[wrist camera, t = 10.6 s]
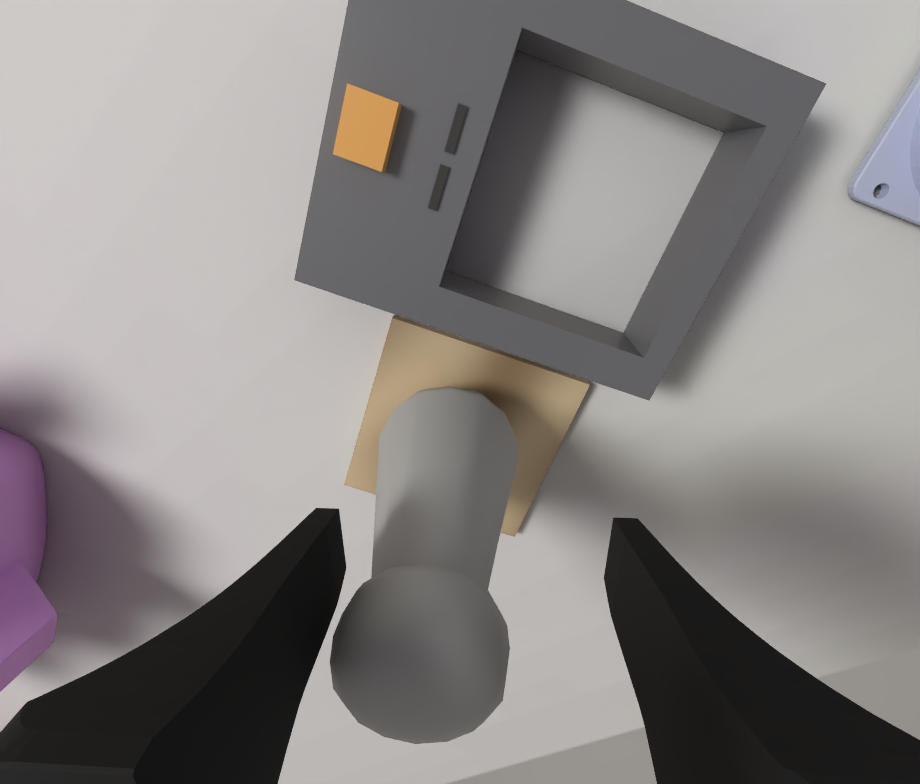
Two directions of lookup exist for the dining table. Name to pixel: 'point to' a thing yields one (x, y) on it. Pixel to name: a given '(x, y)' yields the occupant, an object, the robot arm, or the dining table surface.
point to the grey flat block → (462, 145)
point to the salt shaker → (431, 574)
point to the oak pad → (486, 371)
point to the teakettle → (22, 558)
